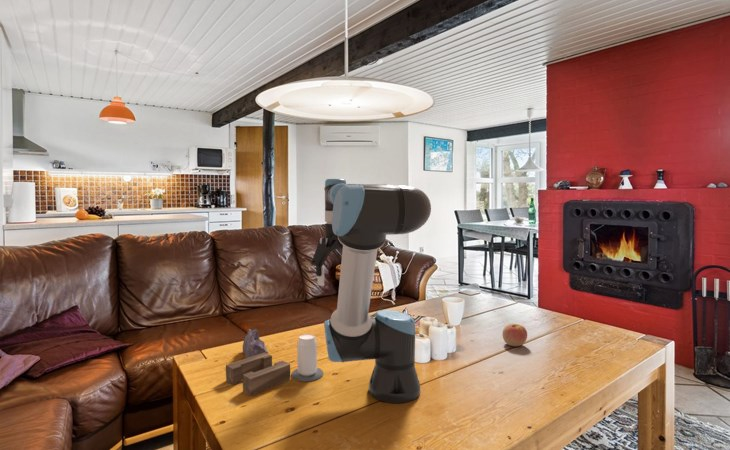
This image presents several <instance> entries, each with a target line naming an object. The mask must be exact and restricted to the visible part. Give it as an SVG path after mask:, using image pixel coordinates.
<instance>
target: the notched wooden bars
mask: <svg viewBox="0 0 730 450" xmlns="http://www.w3.org/2000/svg"><path fill="white" fill-rule="evenodd" d="M225 381H226V382H228V383H229V384H231V385H232V386H234V385H237V384H240V383H242V392H243V393H246V395H249V396H250V397H252V396H254V395H257V394H260V393H261V392H264V391H267V390H269V389H271V388H274V387H277V386H278V385H281V384H284V383H286V382H289V381H291V364H290V363H288V362H287V361H284V360H280V361H277V362H274V364H273V355H271V354H269V353H268V354H267V353H265V352H264V353H261V354H258V355H255V356H252V357H249V358H246V357H245V358H244V359H240V360H237V361H234V362H231V363H228V364H226V365H225Z"/></svg>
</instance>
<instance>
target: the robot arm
mask: <svg viewBox="0 0 730 450" xmlns="http://www.w3.org/2000/svg"><path fill="white" fill-rule="evenodd" d="M324 181H325V182H324V222H325V224H324V234H325V237H318V243H317V245H316V249H315V252H314V254H313V257H312V260H311V262H310V264H311V266H314V267H315V273H316V275H315V276H317V285H318V286H321V287H325V266H324V264H325V262H326V261H327V259H328V257H329V256H330V254H331V252H332V251H333V250H339V251H341V253H342V254H341V264H340V274H339V284H338V285H339V286H338V295H337V306H336V309H334V311H332V314H331V316H330V319H328V320H325V321H324V322H323V326H324V327H323V328H324V336H325V343H326V344H325V345H326V350H327V358H328V360H329V361H330V362H332V363H346V362H358V361H367V360H374V361H375V362H374V367H373V370H372V373H371V375H370V378H369V382H368V392H369V394H370V395H371V396H372V397H373V398H375V399H376V400H379V401H381V402H386V403H392V404H401V403H402V404H403V403H408V402H411V401H414V400H415V399H417V398H418V397H419V396H420V395H421V382H420V380H419V377H418V372H417V370H416V365H415V364H416V363H415V361H416V355H415V354H416V334H417V332H416V321H415V319H414V318H413V317H412V315H409V314H407V313H405V312H402V311H399V310H398V311H397V310H390V309H380V310H377V311H376V312H375V314H374V316H373V317H372V316H371V315H370V313H369V310H370V303H371V295H372V290H373V289H372V288H373V283H374V276H375V270H376V269H375V268H376V264H377V257H378V251H379V249H381V248H382V247H384V245H385V243H386V238H387V235H389V236H391V235H392V236H393V235H405V234H411V233H413V232H415V231H417V230H419V229H420V228H421V227H423V226H424V225H425V224H426V223H427V221H428V220H429V218H430V216H431V212H432V206H431V205H432V204H431V201H430V199H429V196H428V195H427V194H426V193H425V192H424V191H423V190H421V189H419V188H417V187H413V186H410V185H409V186H408V185H399V184H398V185H393V184H387V183H380V184H377V183H376V184H364V183H347V181H346V179H344V178H327V179H325V180H324Z"/></svg>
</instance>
